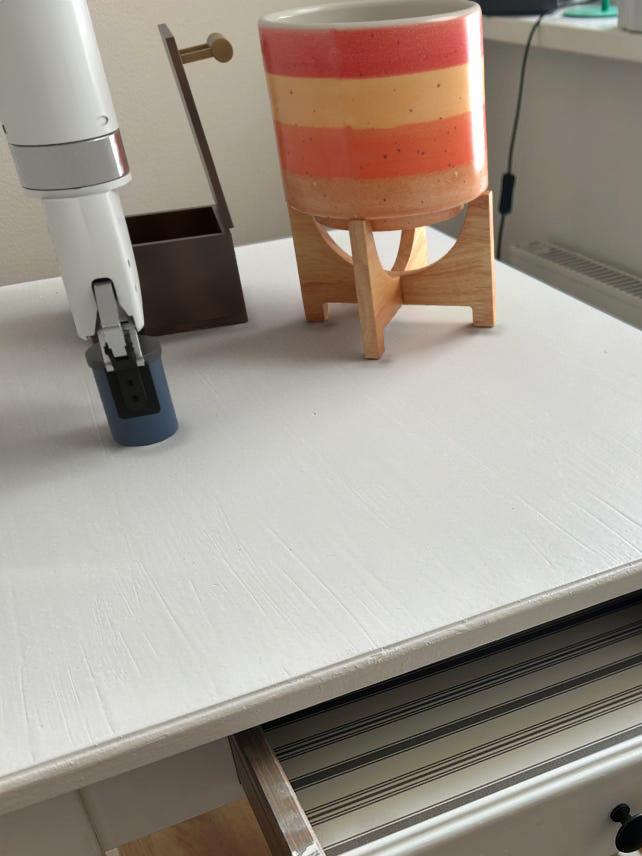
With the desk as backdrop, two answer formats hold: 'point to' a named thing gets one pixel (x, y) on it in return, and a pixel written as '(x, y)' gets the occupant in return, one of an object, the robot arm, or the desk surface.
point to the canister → (145, 426)
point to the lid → (222, 53)
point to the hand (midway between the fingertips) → (138, 391)
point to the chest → (185, 270)
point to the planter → (383, 152)
